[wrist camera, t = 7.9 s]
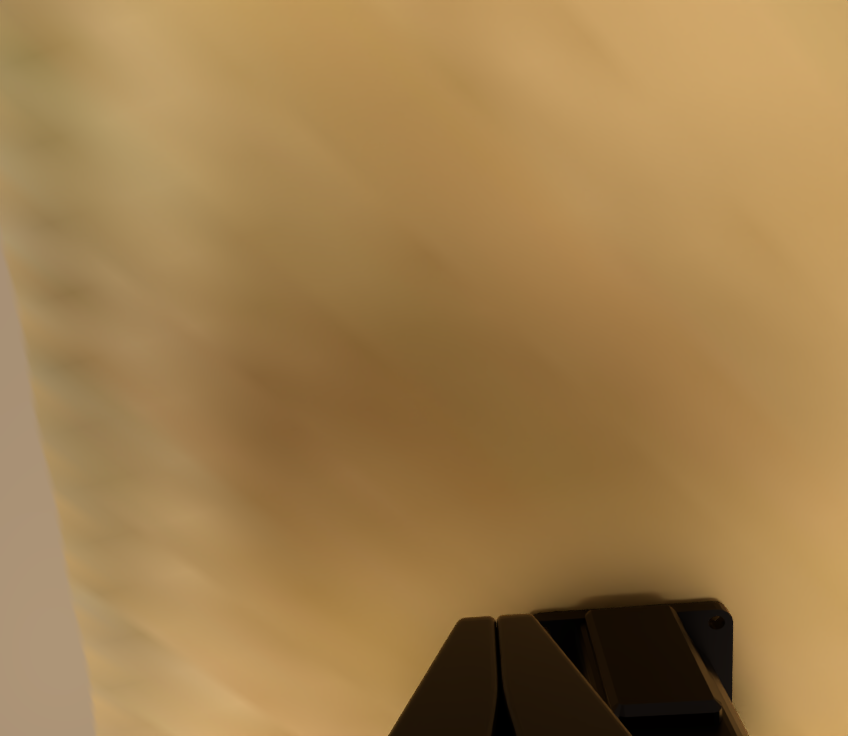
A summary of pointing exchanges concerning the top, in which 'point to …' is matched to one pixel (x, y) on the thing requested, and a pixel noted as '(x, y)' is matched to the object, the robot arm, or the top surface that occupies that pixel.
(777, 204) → the top surface
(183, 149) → the top surface
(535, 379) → the top surface
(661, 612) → the robot arm
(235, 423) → the top surface
